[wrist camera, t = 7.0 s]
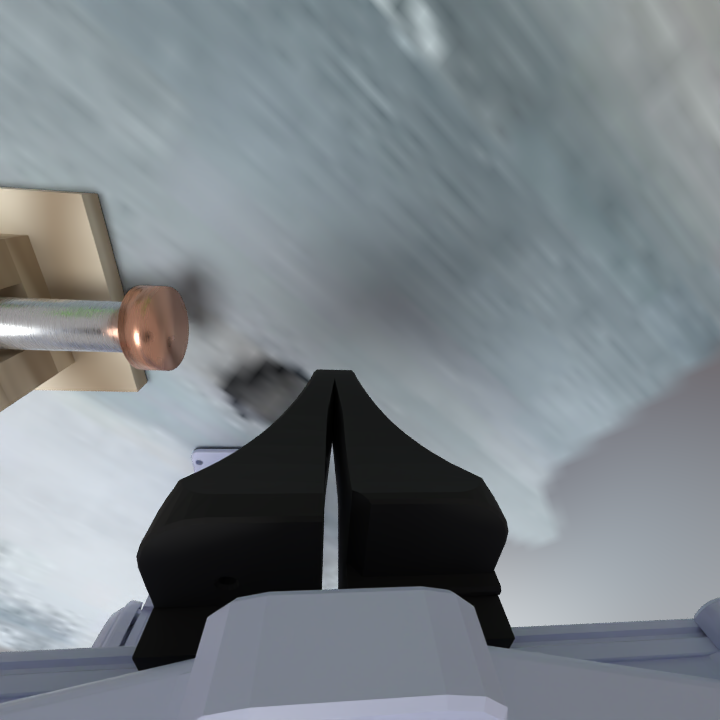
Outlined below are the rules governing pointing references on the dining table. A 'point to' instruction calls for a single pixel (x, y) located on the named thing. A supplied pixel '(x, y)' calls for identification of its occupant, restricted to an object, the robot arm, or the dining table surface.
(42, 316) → the shaft
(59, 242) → the bearing block
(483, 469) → the dining table surface
